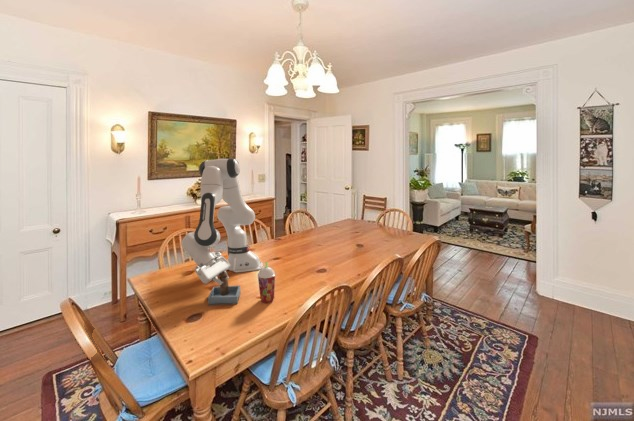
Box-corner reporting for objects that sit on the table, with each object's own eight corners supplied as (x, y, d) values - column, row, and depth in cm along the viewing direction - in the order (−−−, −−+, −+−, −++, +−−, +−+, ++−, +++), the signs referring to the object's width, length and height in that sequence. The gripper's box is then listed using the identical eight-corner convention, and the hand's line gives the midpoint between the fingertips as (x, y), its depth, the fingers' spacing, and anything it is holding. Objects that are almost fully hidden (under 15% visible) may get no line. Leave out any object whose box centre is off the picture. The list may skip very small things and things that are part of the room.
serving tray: (240, 292, 163) (240, 285, 163) (237, 303, 151) (237, 296, 150) (213, 293, 162) (213, 286, 161) (208, 305, 149) (207, 298, 149)
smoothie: (276, 296, 159) (275, 258, 155) (275, 304, 150) (273, 264, 147) (260, 296, 158) (258, 259, 155) (257, 304, 150) (256, 265, 146)
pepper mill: (229, 292, 158) (228, 269, 156) (228, 295, 154) (226, 272, 152) (221, 292, 157) (219, 269, 155) (219, 295, 154) (218, 272, 151)
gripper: (196, 264, 144) (216, 286, 144) (221, 251, 164) (239, 270, 163) (189, 272, 146) (208, 294, 146) (214, 258, 166) (231, 277, 165)
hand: (225, 281), depth 154 cm, fingers closed on pepper mill, 4 cm apart
